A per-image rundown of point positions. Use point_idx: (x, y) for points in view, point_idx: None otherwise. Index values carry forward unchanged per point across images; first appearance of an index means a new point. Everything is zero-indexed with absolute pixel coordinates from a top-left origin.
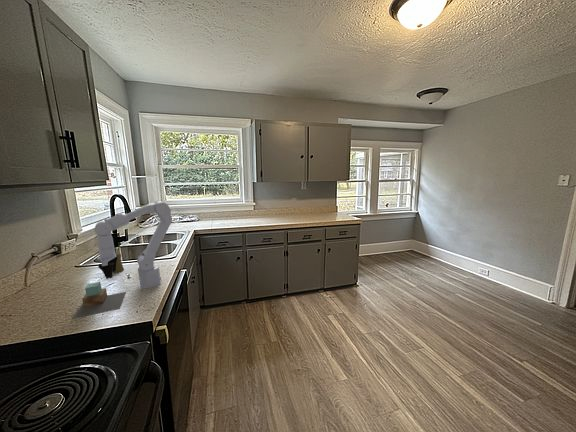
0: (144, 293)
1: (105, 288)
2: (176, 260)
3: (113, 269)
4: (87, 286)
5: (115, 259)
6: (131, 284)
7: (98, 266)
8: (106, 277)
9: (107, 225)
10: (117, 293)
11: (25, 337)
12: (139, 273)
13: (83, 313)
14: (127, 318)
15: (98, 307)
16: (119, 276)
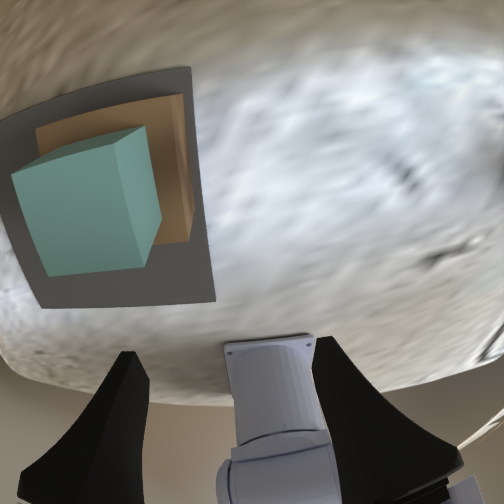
0: (174, 364)
1: (178, 241)
2: (453, 373)
3: (320, 381)
4: (43, 178)
5: (346, 498)
6: (327, 295)
7: (18, 490)
8: (116, 364)
9: None
10: (209, 261)
11: None
12: (253, 426)
13: (9, 159)
14: (5, 332)
15: None
16: (479, 204)
